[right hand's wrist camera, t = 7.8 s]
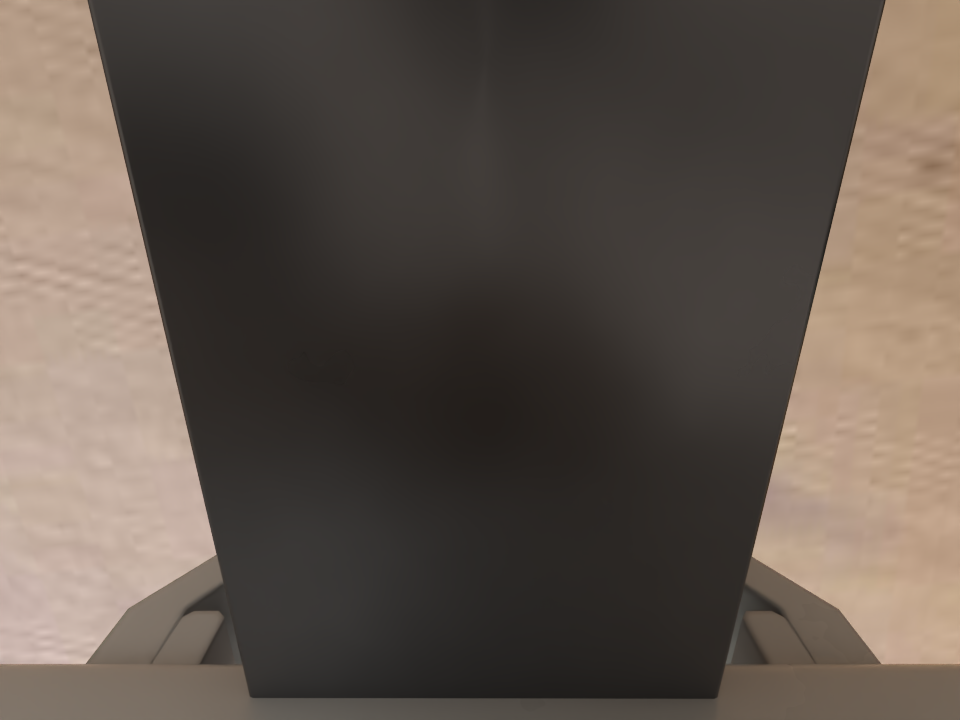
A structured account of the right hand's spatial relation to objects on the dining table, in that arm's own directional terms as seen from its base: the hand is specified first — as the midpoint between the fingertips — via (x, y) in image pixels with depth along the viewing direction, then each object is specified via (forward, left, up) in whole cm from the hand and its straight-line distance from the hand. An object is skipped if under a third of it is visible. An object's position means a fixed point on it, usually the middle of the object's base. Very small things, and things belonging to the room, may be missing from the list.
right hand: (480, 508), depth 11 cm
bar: (+2, +7, -3) cm, 8 cm away
